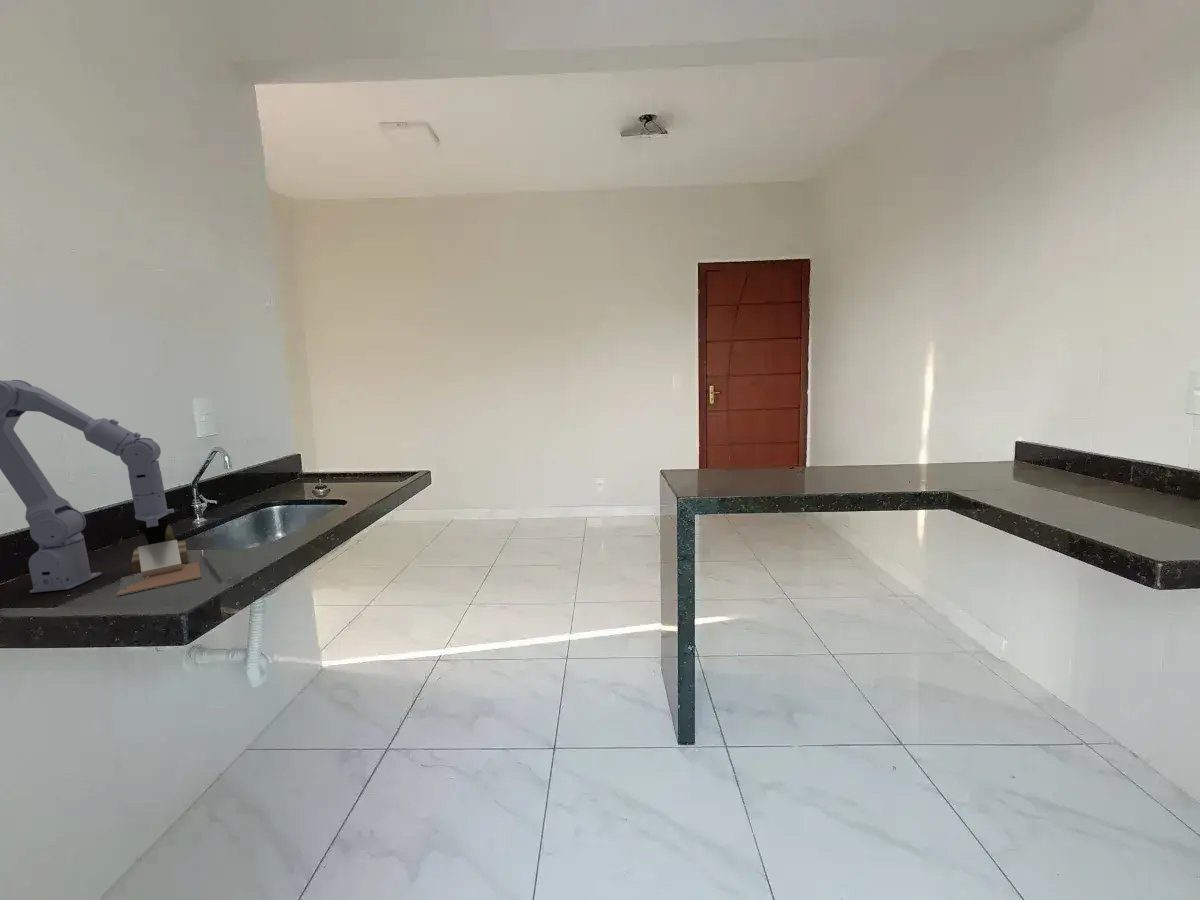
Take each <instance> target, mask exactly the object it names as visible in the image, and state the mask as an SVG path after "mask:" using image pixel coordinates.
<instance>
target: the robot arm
mask: <svg viewBox="0 0 1200 900" xmlns="http://www.w3.org/2000/svg"><path fill="white" fill-rule="evenodd" d="M26 412H38V413H42V414H45V415H46V416H49V417H51V418H53V419H56V420H58V421H59V422H62V423H64V424H66V425H68V426H70V427H72V428H74V429H77V430H79V431H81V432H83V435H84V438H85V440H86V441H87V442H89V443H91V444H93V445H94V446H96V447H99V448H101V449H103V450H105V451H107V452H109V453H111V454H113V455H115V456H117V457H119V458H120V459H121V462H122V463H123V464H124V465H126V466H127V471H128V478H129V485H130V490H131V491H130V492H131V496H132V501H133V506H134V512H135V515H134V519H136V520H138V521H141V522H140V523H137V528H138V530H139V531H140V532H141V534H143V536H144V538H145V537H146V539H147V540H146V539H145V540H146V541H147V543H148V544H147V545H151V544H156V543H161V542H165V535H166V529H167V526H168V525H170V524H169V523H170V518H169V517H165V516H167V515H169V514H173V513H175V509H174V508H169V509H168V506H167V500H166V495H165V494H166V493H165V487H164V482H163V476H162V471H161V467H160V462H159V460H158V459H159V458H160V456H161V454H162V453H161V452H162V451H161V450H162V449H161V447H160V445H159V444H158V443H157V442H156V441H154V439H152V438H149V437H141V436H142V434H141V433H139V432H132V431H130V430H128V429H126V428H125V427H124V426H121V425H119V423H120V422H119V421H118V420H116V419H114V418H113V419H109V418H106V417H103V418H97V419H95V418H93V417H91V416H90V415H88V414H87V413H84V412H83V411H81V410H79V409H78V408H75V407H74V406H72V405H71V404H69V403H67V402H66V401H63V400H62V399H61V398H59V397H56V396H55V395H53V394H52V393H49V392H48V391H47V390H45V389H43V388H42V387H38V386H34V385H32V384H31V383H30V382H27V381H25V380H21V379H11V380H1V379H0V471H1V473H2V474H3V475H4V476H5V479H7V481H8V483H9V484H10V485H11V487H12V488H13V490H14V491H15V493H16V494H17V495H18V497H19V498H20V500H21V501H22V503H23V504H24V506H25V508H26V511H25V517H24V518H25V520H26V522H27V524H28V527H29V535H30V537H31V538H32V540H33V541H34V542H35V543H36V544H38V547H39V548H38V550H37V551H35V552H34V553H33V554H31V556H30V558H29V559H28V568H29V569H28V570H29V574H30V578H31V583H32V589H30V590H29V594H32V593H33V594H35V593H43V592H52V591H62V590H63V591H64V590H71V589H73V588H76V587H77V586H80V585H82V584H84V583H86V582H88V581H91V580H93V579H94V578H98V577H99V576H101V575H102V574H103V572H100V571H98V572H92V571H91V568H90V567H91V566H90V561H89V557H88V552H87V551H88V550H87V546H86V542H85V537H84V535H83V534H82V531H83V530H84V529H85V528H86V524H87V519H86V517H85V515H84V513H82V512H81V511H80V510H78V509H76V508H75V507H73V505H72V504H71V503H70V502H69V500H67V499H65V498H63V497H62V496H60V495H59V494H57V492H56V491H55V489H54V487H53V486H52V485H51V483H50V481H49V480H48V479H47V477H46V475H45V474H44V473H43V471H42V470H41V468H40V467H39V465H38V464H37V463H36V460H35V459H34V458H33V456H32V455H31V454H30V451H28V448H27V447H26V446H25V444H24V442H22V440H21V439H20V437H19V436H18V434H17V432H16V431H15V429H14V428H15V426H16V424H17V423H18V422H19V419H20V417H21V416H22V415H23V414H25V413H26ZM142 521H143V522H142Z"/></svg>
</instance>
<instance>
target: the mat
mask: <svg viewBox="0 0 1200 900" xmlns="http://www.w3.org/2000/svg"><path fill="white" fill-rule="evenodd" d="M130 576H133V574H132V575H127V576H123V577H121V578H120V581H121V580H122V579H124V578H127V577H130ZM142 578H143V577H142ZM142 578H141V579H142ZM200 578H201V579H202V572H201V568H200V562H199V561H196V562H195V561H194V562H191V563H188V564H185V565H182V569H180V570H175V571H171V572H166V573H161V574H157V575H152V576H149V577H148V579H147V578H146V579H145V577H144V579H142V580H141V582H139V581H138V582H139V583H138V582H137V583H135V584H134V583H133V584H134V585H133V584H131V585H130V586H127V589H126V590H125V589H123V590H122V589H121V590H120V591H119V592H116V596H117V595H120V594H125V593H130V592H136V591H140V590H146V589H151V588H155V589H157V588H156V587H160V588H163V587H162V586H164V587H167V586H166V585H169V586H171V585H170V584H174V583H178V582H183V581H188V582H190V581H189V580H192V581H195V580H194V579H197V580H201V579H200ZM120 581H119V582H120ZM183 583H184V582H183ZM178 584H179V583H178ZM174 585H175V584H174ZM151 590H152V589H151ZM146 591H147V590H146Z"/></svg>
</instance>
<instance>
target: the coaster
mask: <svg viewBox="0 0 1200 900" xmlns="http://www.w3.org/2000/svg"><path fill="white" fill-rule="evenodd" d="M177 541H178V540H177V539H175V540H171V541H166V542H161V543H156V544H151V545H149V544H146V545H142V546H137V549H138V552H139V559H140V566H141V572H142V577H147V576H152V575H157V574H161V573H166V572H171V571H175V570H180V569H182V564H181V559H180V554H179V549H178V544H177Z"/></svg>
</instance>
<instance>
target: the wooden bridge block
mask: <svg viewBox="0 0 1200 900" xmlns="http://www.w3.org/2000/svg"><path fill="white" fill-rule="evenodd" d="M177 544H178V549H179V554H180V559H181V564H187V563H188V564H189V557H188V549H187V542H186V539H183V540H179V541H178V540H177ZM130 564H131V570H132V575H133V574H137V573H141V566H140V559H139V552H138V548H135V549H133V553H132V557H131V562H130Z"/></svg>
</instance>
